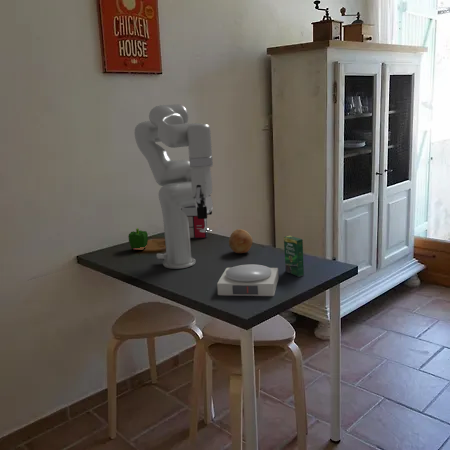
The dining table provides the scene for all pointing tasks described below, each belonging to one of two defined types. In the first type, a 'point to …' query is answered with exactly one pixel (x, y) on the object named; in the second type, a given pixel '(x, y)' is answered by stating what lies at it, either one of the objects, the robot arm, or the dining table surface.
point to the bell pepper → (138, 239)
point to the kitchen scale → (248, 281)
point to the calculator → (195, 222)
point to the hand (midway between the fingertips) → (204, 216)
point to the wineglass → (209, 208)
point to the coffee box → (294, 255)
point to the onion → (240, 241)
